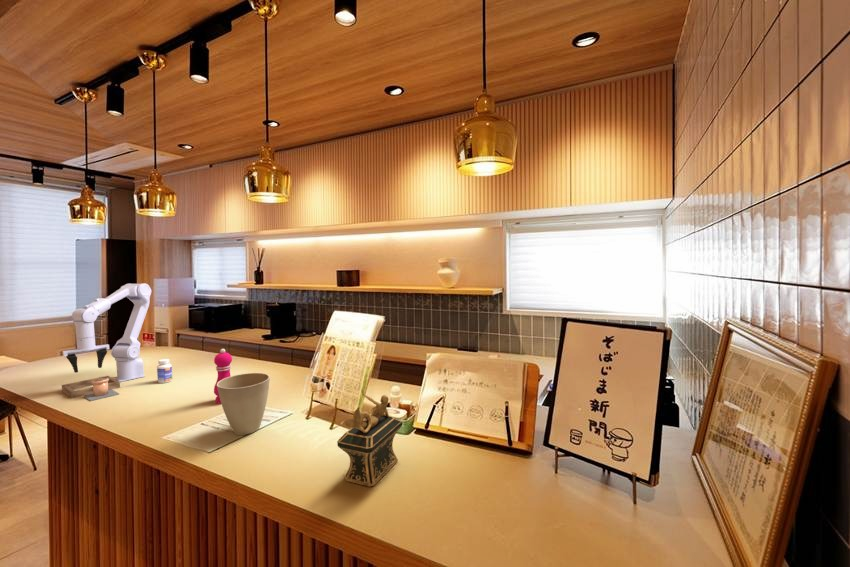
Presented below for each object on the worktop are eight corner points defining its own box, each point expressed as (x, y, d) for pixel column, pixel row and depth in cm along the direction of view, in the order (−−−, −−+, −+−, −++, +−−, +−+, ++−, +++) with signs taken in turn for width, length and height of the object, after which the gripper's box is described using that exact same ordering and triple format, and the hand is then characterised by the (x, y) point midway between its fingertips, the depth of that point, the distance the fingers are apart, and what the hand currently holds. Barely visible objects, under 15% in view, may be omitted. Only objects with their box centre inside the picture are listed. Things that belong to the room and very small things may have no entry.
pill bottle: (167, 383, 168) (165, 361, 167) (154, 383, 168) (153, 361, 167) (175, 379, 173) (174, 358, 173) (163, 379, 173) (162, 358, 173)
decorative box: (372, 450, 105) (371, 380, 104) (404, 457, 102) (402, 384, 100) (326, 491, 87) (324, 406, 86) (363, 501, 83) (360, 413, 82)
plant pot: (235, 419, 128) (233, 372, 127) (279, 419, 127) (277, 372, 126) (208, 441, 113) (205, 388, 112) (258, 441, 112) (256, 387, 111)
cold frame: (108, 381, 172) (107, 375, 172) (120, 387, 163) (119, 381, 163) (62, 391, 160) (61, 385, 160) (71, 398, 151) (71, 392, 151)
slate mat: (111, 390, 160) (111, 389, 160) (119, 394, 155) (119, 393, 155) (83, 396, 153) (83, 395, 153) (90, 401, 147) (90, 400, 147)
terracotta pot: (102, 391, 157) (101, 377, 156) (113, 392, 156) (112, 378, 155) (89, 396, 152) (88, 381, 151) (99, 397, 150) (98, 382, 150)
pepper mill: (240, 398, 147) (237, 347, 146) (223, 405, 141) (220, 351, 139) (227, 396, 150) (224, 345, 149) (210, 402, 144) (207, 350, 142)
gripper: (104, 333, 167) (106, 364, 167) (59, 339, 155) (62, 372, 156) (110, 335, 162) (112, 366, 163) (64, 341, 151) (67, 375, 152)
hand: (88, 369), depth 159 cm, fingers open, 7 cm apart
